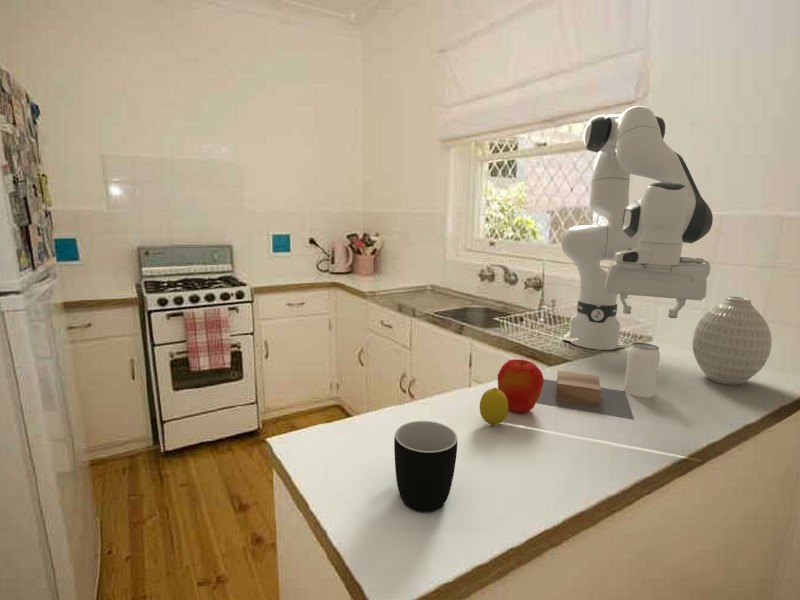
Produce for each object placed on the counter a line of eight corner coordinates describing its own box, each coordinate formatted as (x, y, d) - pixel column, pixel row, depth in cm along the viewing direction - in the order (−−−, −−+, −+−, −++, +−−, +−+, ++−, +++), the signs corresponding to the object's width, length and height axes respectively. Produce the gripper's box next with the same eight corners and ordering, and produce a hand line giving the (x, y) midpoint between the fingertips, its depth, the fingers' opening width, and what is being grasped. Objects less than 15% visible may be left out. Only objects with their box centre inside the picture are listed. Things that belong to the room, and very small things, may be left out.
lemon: (475, 428, 85) (478, 390, 83) (481, 417, 90) (483, 380, 89) (504, 434, 83) (507, 395, 82) (508, 422, 88) (511, 385, 87)
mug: (466, 508, 62) (470, 443, 60) (410, 527, 58) (413, 458, 56) (423, 465, 72) (426, 408, 70) (374, 478, 68) (375, 418, 66)
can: (659, 399, 102) (667, 350, 99) (631, 398, 102) (638, 349, 99) (644, 388, 108) (651, 342, 106) (618, 387, 108) (624, 341, 106)
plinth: (556, 385, 107) (558, 370, 106) (596, 392, 104) (598, 376, 103) (555, 399, 99) (557, 383, 98) (598, 407, 96) (601, 390, 95)
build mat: (530, 378, 112) (530, 377, 112) (624, 392, 105) (624, 391, 105) (524, 402, 98) (524, 400, 98) (633, 421, 90) (634, 419, 90)
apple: (487, 409, 94) (491, 356, 91) (510, 398, 100) (515, 348, 98) (525, 425, 87) (530, 368, 85) (548, 412, 93) (553, 359, 91)
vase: (745, 397, 104) (762, 306, 100) (675, 375, 118) (688, 294, 114) (774, 385, 113) (791, 301, 108) (705, 366, 126) (718, 290, 122)
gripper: (707, 257, 98) (697, 317, 100) (607, 252, 105) (600, 308, 107) (716, 259, 92) (705, 323, 94) (610, 254, 99) (602, 313, 101)
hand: (649, 315), depth 101 cm, fingers open, 8 cm apart
